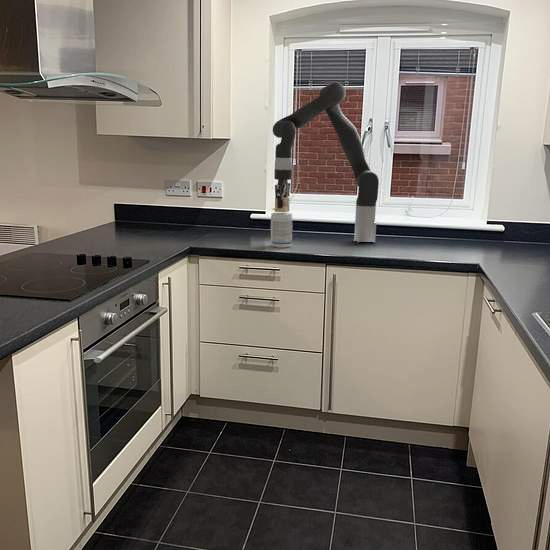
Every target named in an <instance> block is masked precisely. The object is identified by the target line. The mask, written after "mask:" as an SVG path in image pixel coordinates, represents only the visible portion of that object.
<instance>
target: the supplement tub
mask: <svg viewBox="0 0 550 550" xmlns="http://www.w3.org/2000/svg"><path fill="white" fill-rule="evenodd" d="M292 245H293V213H291V212H272V213H271V215H270V246H271V247H273V248H279V249H280V248H281V249H282V248H283V249H286V248H290V247H292Z"/></svg>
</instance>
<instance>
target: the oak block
mask: <svg viewBox="0 0 550 550" xmlns="http://www.w3.org/2000/svg"><path fill="white" fill-rule="evenodd" d="M277 201H278V199H277V198H274V213H289V212H290V197H288V198H287V197H283V208H277Z"/></svg>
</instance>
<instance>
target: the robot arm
mask: <svg viewBox="0 0 550 550" xmlns="http://www.w3.org/2000/svg"><path fill="white" fill-rule="evenodd" d="M318 95H319V96H318V97H316V98H315V99H312V100H311V101H309V102H307V103H305V104H304V105H303V106H301V107H299V108H298V109H297V110H295V111H294V112H292V113H291V114H290V115H287V116H285V117H283V118H280V119H279V120H277V121H276V122H275V123H274V125H273V127H272V134H273V135H274V136H275V137H276V138H279V139H280V142H279V143H278V144H276V145H275V151H274V152H275V155H274V157H275V158H274V159H275V160H274V169H273V170H274V171H273V172H274V174H273V175H274V176H273V177H274V180H277V184H275V185H274V195H275V196H274V197H275V198H277V199H278V201H277V208H283V197H287V198H290V192H291V191H290V190H291V183H290V182H289V181H290V180H292V178H293V177H292V176H293V175H292V173H293V171H292V170H293V162H292V159H293V158H292V154H293V149H292V148H293V145H294V141H295V138H296V133H297V129H300V128H303V126H305V125H307V124H308V123H309V122H311V121H312V120H313V119H315V118H316V117H317V116H319V115H320V114H321V113H322V112H324V111H325V112H326V114H327V116H328V118H329V121H330V122H331V124H332V127H333V129H334V131H335V134H336V136H337V139H338V141H339V144H340V146H341V149H342V150H343V153H344V154H345V156H346V159H347V161H348V162H349V164H350V166H351V167H350V168H351V169H352V170H351V171H352V173H353V176H354V180H355V182H356V185H357V187H358V189H357V190H358V191H357V198H356V200H355V201H356V202H355V216H354V221H355V222H354V236H353V241H354V242H355V241H357V242H356V243H359V242H373V243H376V235H377V234H376V233H377V232H376V231H377V222H376V209H377V201H378V196H379V185H380V182H379V181H380V180H379V177H378V176H379V175H377V174H376V173H375V172H374V171H372V169H370V168H371V167H370V166H369V164H368V162H367V160H366V155H365V151H364V146H363V142H362V139H361V137H360V134H359V132H358V129H357V128H356V126H355V124H353V123H352V122H351V121H350V120H349V119H348V118H347V116H345V115H344V114H343V112H342V110H341V108H340V104H341V103H342V102H343V101H344V99H345V98H346V88H345V86H344V85H343V84H342V83H339V82H331V83H330V84H328V85H326V86H323V87H322V88H321V89H320V90H319V94H318ZM275 198H274V199H275Z"/></svg>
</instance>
